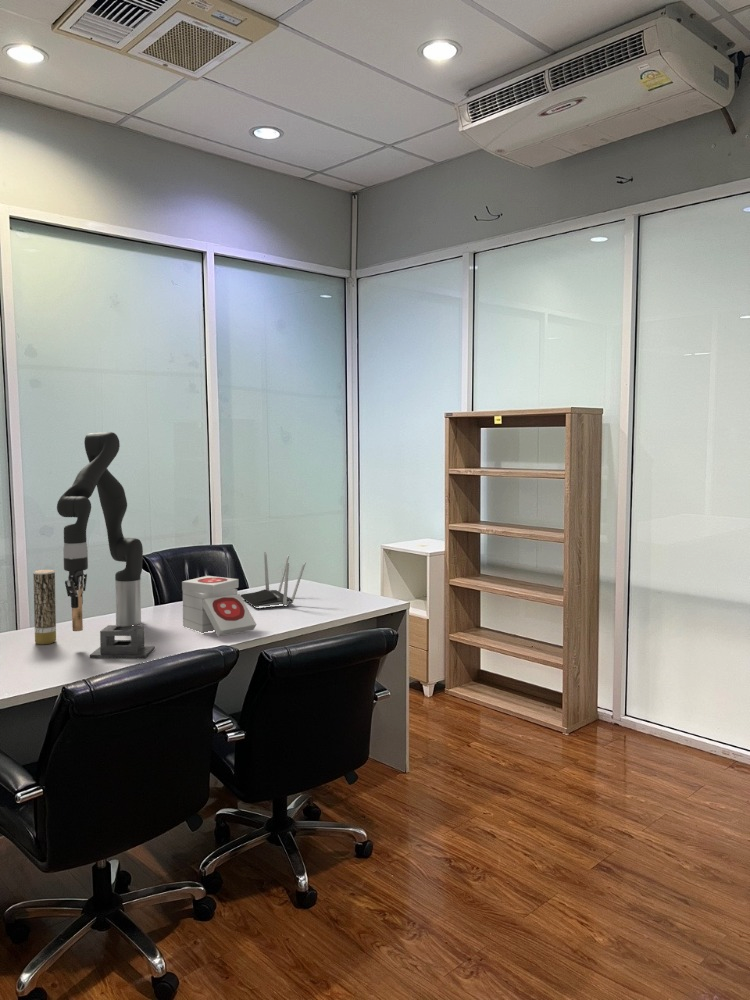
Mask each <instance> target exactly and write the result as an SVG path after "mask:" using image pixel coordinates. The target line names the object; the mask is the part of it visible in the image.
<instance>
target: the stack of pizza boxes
mask: <svg viewBox="0 0 750 1000" xmlns="http://www.w3.org/2000/svg"><path fill="white" fill-rule="evenodd" d="M239 584H240V583H239V578H230V577H223V576H222V577H221V576H215V575H214V576H213V575H204V576H201V577H196V578H193V579H188V580H184V581H181V591H182V627H183V626H184V627H183V628H185V627H187V628H190V629H193V630H196V631H199V632H201V633H204V632H208V631H213V630H215V631H216V632H215V634H216V635H217V637H223V636H227V635H228V636H229V635H234V634H238V633H245V632H251V631H254V629H255V628H256V626H257V623H256V621H255V620H254V617H253V616H252V614H251V612H250V610H249V608H248V607H247V604H246V603H245V600H243V598H242V597H241V595H242V594H240V593H238V588H239ZM187 628H186V629H187ZM190 629H189V630H190ZM193 630H192V631H193Z"/></svg>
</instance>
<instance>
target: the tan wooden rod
mask: <svg viewBox="0 0 750 1000" xmlns="http://www.w3.org/2000/svg"><path fill="white" fill-rule="evenodd" d="M82 595H83V594H82V589H81V588H80V590H79V591H78V603H79V607H78V608H72V607H71V616H72V617H71V618H72V619H71V622H72V623H71V624H72V626H71V627H72V632H81V631H83V629H84V627H83V626H84V624H83V621H84V620H83V604H82Z"/></svg>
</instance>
